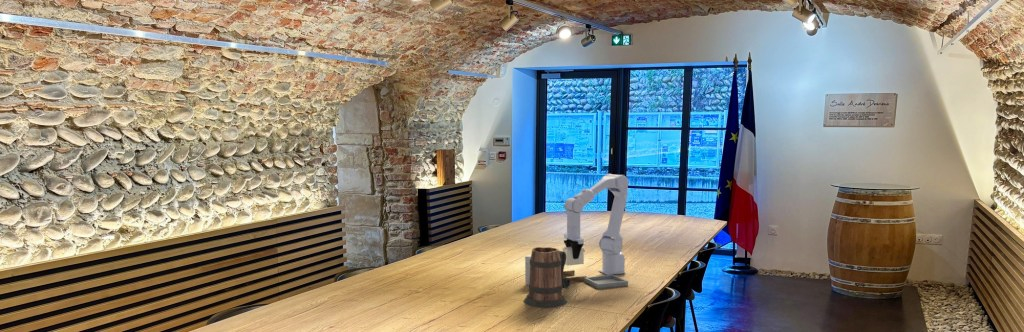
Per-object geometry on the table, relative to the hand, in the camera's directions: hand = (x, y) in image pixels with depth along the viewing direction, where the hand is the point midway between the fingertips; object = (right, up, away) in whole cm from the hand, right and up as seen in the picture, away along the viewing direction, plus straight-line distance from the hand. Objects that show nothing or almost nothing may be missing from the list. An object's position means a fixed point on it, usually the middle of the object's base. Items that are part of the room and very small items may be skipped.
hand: (573, 257), depth 276 cm
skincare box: (-18, -10, -7) cm, 22 cm away
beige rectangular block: (0, -3, 0) cm, 3 cm away
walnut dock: (-1, -9, +1) cm, 9 cm away
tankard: (-12, -12, -30) cm, 34 cm away
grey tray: (+13, -10, -8) cm, 18 cm away
